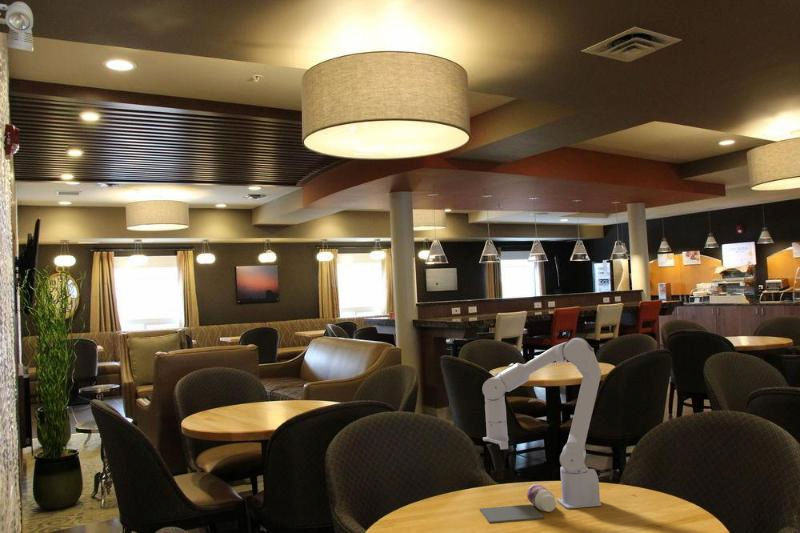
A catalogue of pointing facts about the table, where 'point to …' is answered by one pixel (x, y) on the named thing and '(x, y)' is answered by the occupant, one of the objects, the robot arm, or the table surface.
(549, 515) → the table surface
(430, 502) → the table surface
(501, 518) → the mat
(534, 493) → the pill bottle
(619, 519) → the table surface
